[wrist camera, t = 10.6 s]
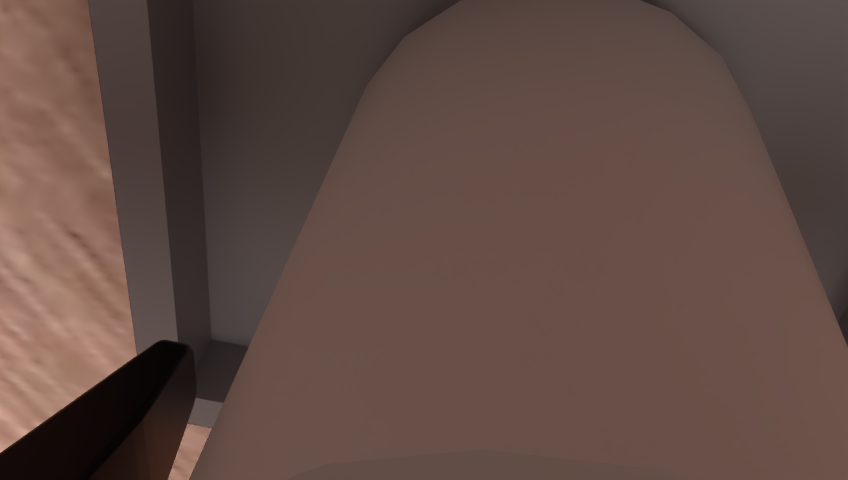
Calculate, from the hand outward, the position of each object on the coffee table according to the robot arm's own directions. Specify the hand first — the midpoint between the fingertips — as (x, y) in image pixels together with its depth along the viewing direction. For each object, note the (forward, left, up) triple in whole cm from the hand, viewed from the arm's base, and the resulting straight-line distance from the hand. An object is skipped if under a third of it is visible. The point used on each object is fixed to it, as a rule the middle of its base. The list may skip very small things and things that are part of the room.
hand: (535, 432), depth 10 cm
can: (0, 0, -7) cm, 7 cm away
